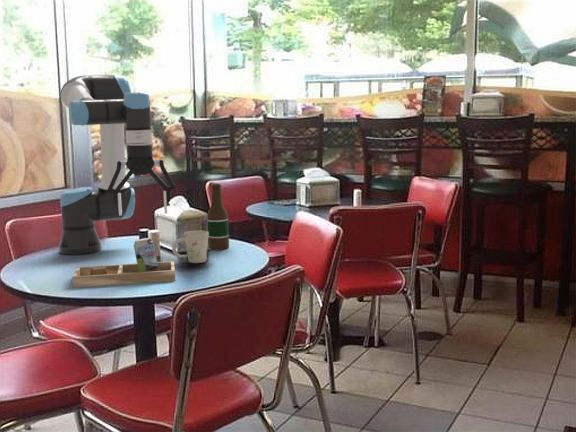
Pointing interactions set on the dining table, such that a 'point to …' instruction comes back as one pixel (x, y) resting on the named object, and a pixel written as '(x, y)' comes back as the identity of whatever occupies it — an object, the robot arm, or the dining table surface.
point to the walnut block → (98, 270)
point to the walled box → (123, 275)
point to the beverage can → (145, 255)
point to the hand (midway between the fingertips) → (143, 213)
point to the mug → (194, 246)
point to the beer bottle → (217, 221)
